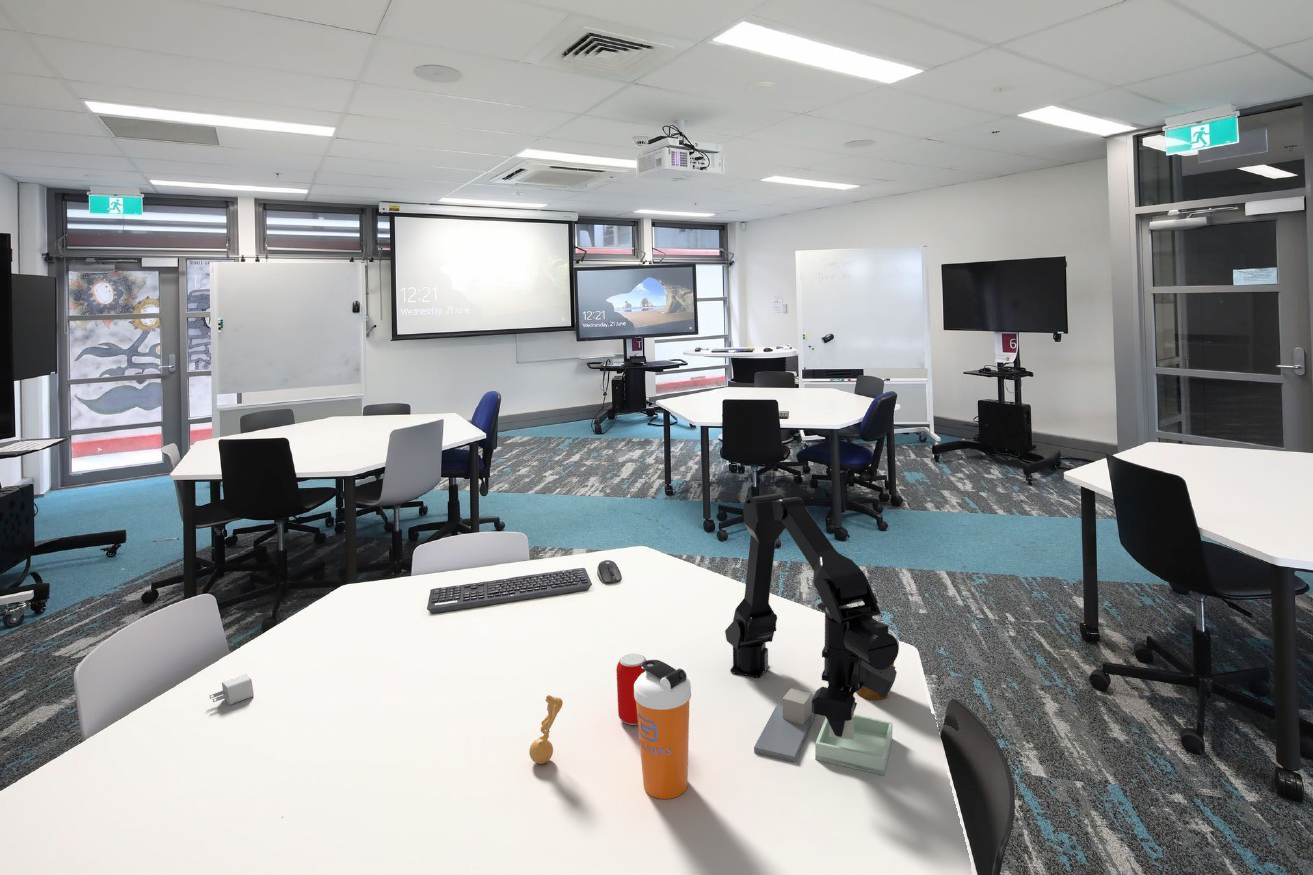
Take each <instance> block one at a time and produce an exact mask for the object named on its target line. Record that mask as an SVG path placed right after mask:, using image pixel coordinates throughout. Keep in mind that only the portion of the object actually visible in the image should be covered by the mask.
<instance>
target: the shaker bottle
mask: <svg viewBox="0 0 1313 875" xmlns="http://www.w3.org/2000/svg"><path fill="white" fill-rule="evenodd" d="M646 660H647V659H646ZM641 667H642V669H643V670H645V672H644V673H642V674H641V675H640V676H639V677H638V679H637V680H636V681H635V683H634V698H635V700H636V706H637V717H638V725H637V726H638V727H637V728H638V736H639V738H638V739H639V749H640V760H641V761H640V763H641V773H642V782H643V789H644V791H645V792H646V793H647V794H648V795H649V796H651V797H653V798H656V799H661V800H670V799H674V798H677V797H679V796H681V795H682V794H684V793H685V791H686V790H687V788H688V780H689V779H688V775H689V737H690V735H689V733H690V732H689V730H690V700H691V697H692V690H691V688H692V686H691V680H690V679H689V678H688V675H687V672H686V671H685V670H684V669H683V668H677V669H676V668H674V667H672V666H671V665H669V664H668V663H666V662H664V661H661V660H658V659H648V660H647V661H645V662H643V663H642V666H641Z"/></svg>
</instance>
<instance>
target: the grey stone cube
mask: <svg viewBox="0 0 1313 875" xmlns="http://www.w3.org/2000/svg"><path fill="white" fill-rule="evenodd" d="M812 699H813V694H812V693H811V692H806V691H803V690H799V689H796V688H789V690H788V691H787V693H786V694H785V695H784V696H783V697H782V704H783V719H786V720H790V721H793V722H796V723H800V724H803V725H804V724H805V722H806V721H807V720H808V718H809V717H810V716H811V714H812Z"/></svg>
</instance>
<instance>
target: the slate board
mask: <svg viewBox="0 0 1313 875" xmlns="http://www.w3.org/2000/svg"><path fill="white" fill-rule="evenodd" d="M815 715H816V714H814V713H813V712H812V714H811V716H810V717H809V718H808V720H807V721H806V722H805V724H804V725H803V724H800V723H796V722H793V721H790V720H786V719H783V703H778V702H777V703H776V705H775V707H774V709H773V711H772V713H771V715H770V717H769V718H768V720H767V722H766V724H765V726H764V727H763V730H762V731H761V733H760V735H759V737H758V739H757V740H756V743H755V744H754V746H753V752H754V753H755V754H760V755H763V756H767V757H770V758H771V757H772V758H775V759H776V758H777V759H780V760H784V761H788V762H793V763H795V762H796V760H797V757H798V756H799V753H800V750H801V748H802V746H803V743H804V742H805V739H806V737H807V734H808V732H809V729H810V727H811V725H812V723H813V720H814V718H815Z"/></svg>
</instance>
